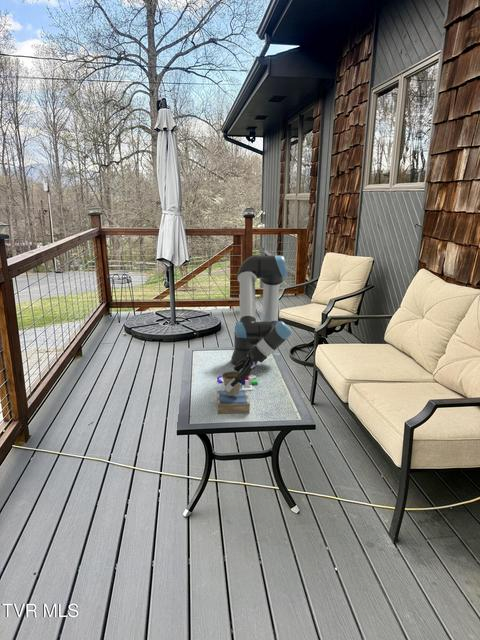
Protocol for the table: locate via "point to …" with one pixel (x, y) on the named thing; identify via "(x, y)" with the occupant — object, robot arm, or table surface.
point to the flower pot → (228, 377)
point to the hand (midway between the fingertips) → (225, 385)
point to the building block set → (245, 383)
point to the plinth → (233, 403)
